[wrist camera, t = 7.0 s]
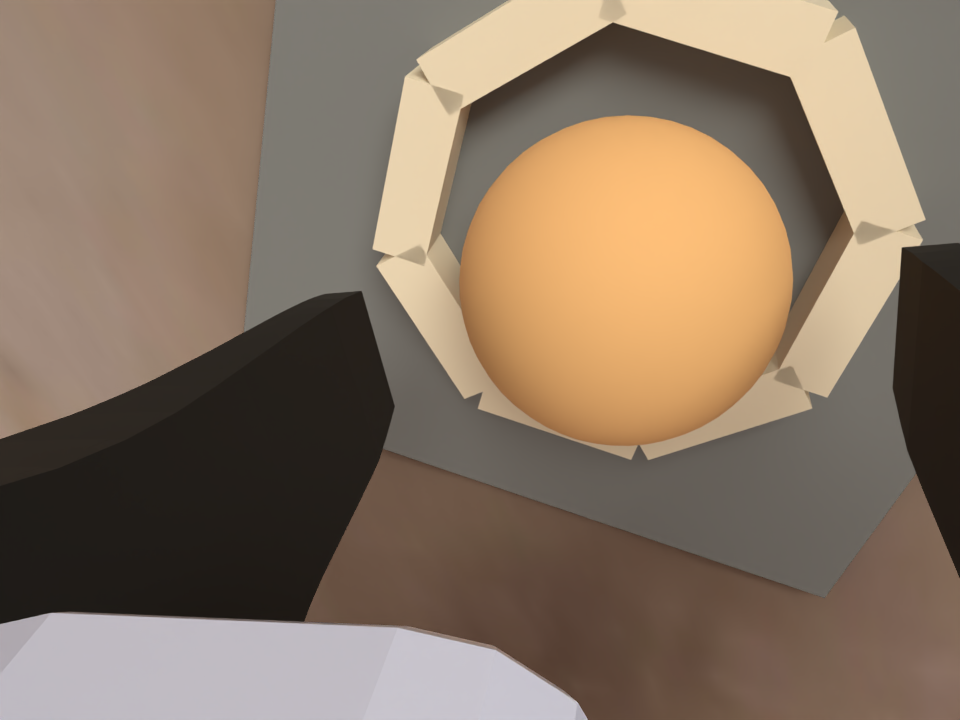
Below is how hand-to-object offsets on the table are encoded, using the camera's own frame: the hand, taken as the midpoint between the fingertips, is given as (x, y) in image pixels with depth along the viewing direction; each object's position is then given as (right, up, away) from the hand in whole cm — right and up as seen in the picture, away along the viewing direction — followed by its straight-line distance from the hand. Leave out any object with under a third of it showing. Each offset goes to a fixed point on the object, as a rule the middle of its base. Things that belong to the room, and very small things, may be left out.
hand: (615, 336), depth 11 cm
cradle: (+1, +2, +4) cm, 5 cm away
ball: (0, +1, +1) cm, 2 cm away
